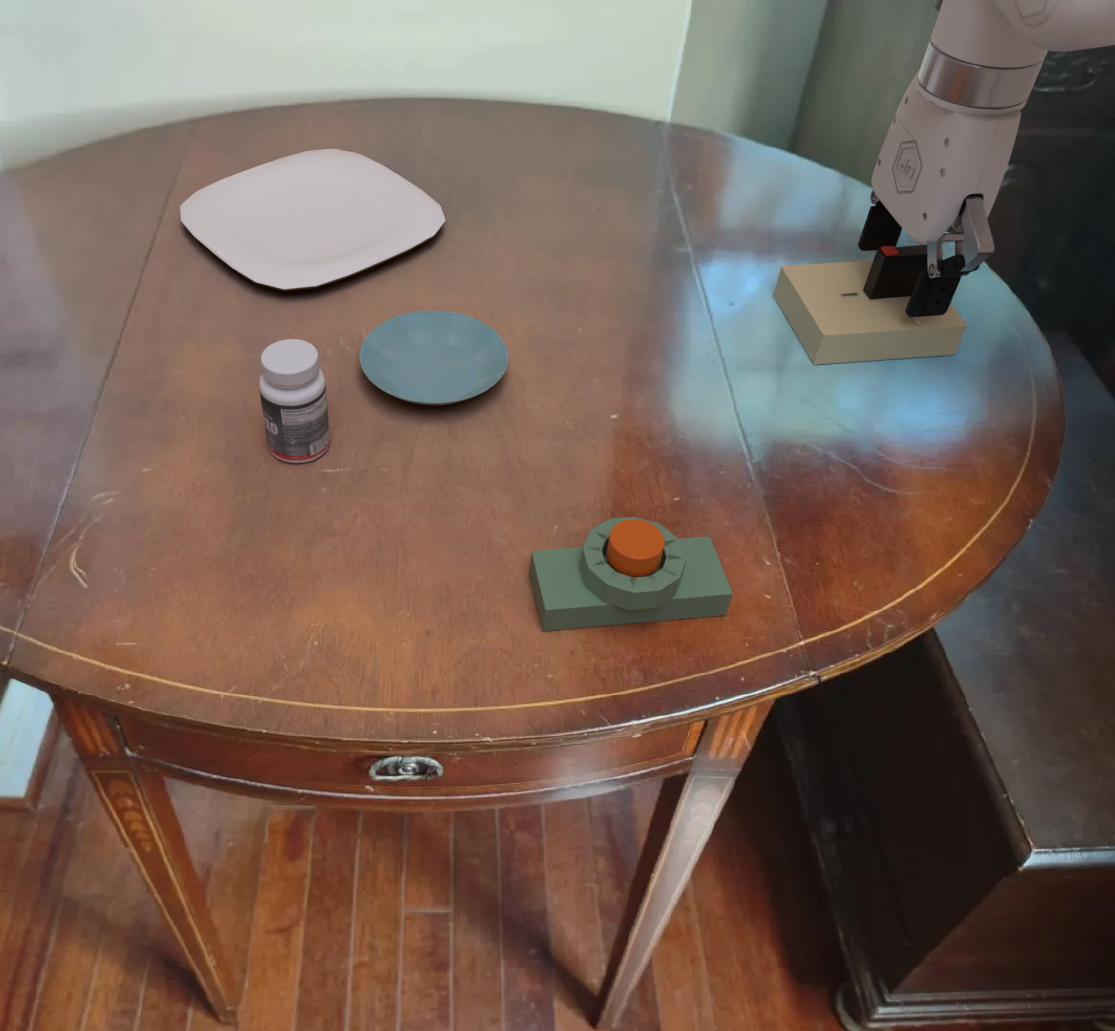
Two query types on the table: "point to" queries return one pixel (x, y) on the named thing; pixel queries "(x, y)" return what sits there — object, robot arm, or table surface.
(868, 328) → the panel
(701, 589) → the block
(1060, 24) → the robot arm
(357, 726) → the table surface
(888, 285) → the knob
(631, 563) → the button
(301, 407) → the pill bottle
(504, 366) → the saucer
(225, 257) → the plate
